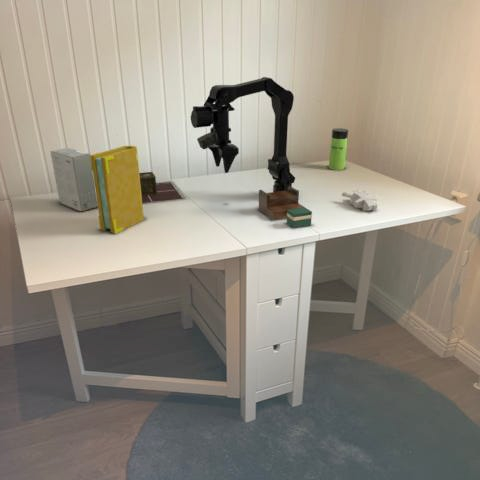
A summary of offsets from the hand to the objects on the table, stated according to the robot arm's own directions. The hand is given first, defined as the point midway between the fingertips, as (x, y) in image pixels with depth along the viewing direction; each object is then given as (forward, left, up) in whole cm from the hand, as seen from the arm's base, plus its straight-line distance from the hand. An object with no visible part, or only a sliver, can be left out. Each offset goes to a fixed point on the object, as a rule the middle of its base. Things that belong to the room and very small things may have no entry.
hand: (222, 169), depth 190 cm
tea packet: (-18, +28, -14) cm, 36 cm away
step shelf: (-18, +15, -14) cm, 27 cm away
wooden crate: (+22, -28, -14) cm, 39 cm away
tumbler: (-70, -30, -14) cm, 77 cm away
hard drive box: (+50, -23, -14) cm, 57 cm away
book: (+38, +4, -14) cm, 41 cm away
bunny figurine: (-49, +20, -14) cm, 55 cm away
